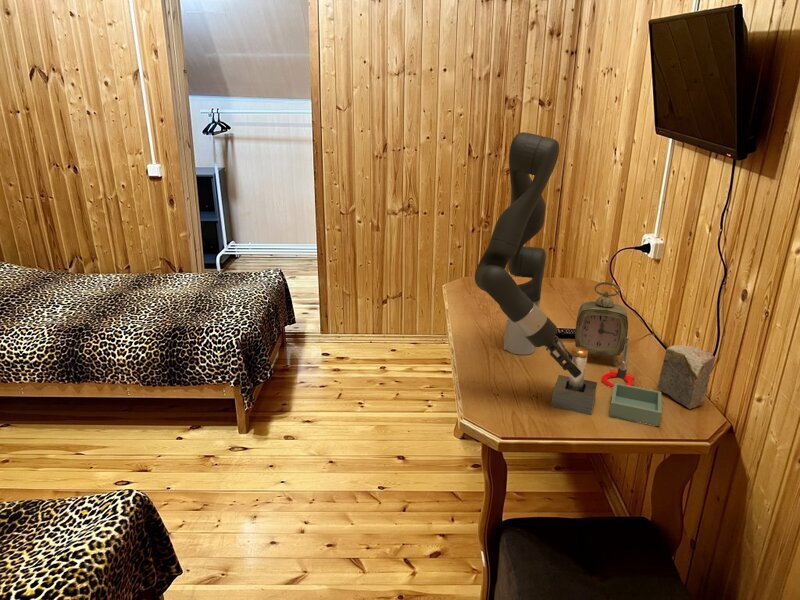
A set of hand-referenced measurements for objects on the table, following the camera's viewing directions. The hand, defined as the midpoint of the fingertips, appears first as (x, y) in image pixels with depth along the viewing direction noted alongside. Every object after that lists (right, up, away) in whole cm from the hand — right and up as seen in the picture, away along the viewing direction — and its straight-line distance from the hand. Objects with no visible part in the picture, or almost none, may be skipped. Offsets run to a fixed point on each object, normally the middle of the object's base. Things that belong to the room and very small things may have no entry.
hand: (574, 367), depth 148 cm
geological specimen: (+30, -9, +6) cm, 32 cm away
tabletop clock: (+15, -1, +28) cm, 32 cm away
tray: (+15, -11, 0) cm, 19 cm away
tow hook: (+17, -6, +15) cm, 23 cm away
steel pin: (+1, -9, +3) cm, 10 cm away
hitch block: (+1, -9, +3) cm, 10 cm away
